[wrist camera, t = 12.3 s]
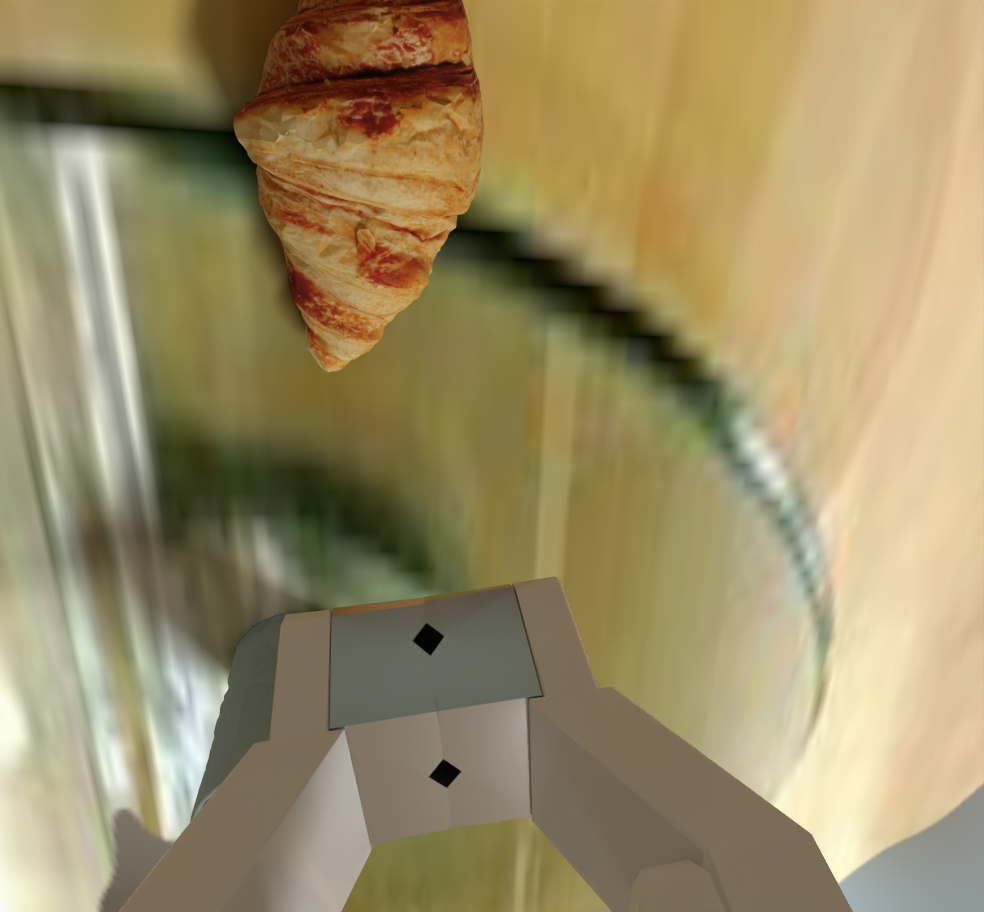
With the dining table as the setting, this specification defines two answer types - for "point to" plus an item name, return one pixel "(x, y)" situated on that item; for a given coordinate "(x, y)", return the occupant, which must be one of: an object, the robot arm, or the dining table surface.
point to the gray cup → (244, 705)
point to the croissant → (364, 157)
